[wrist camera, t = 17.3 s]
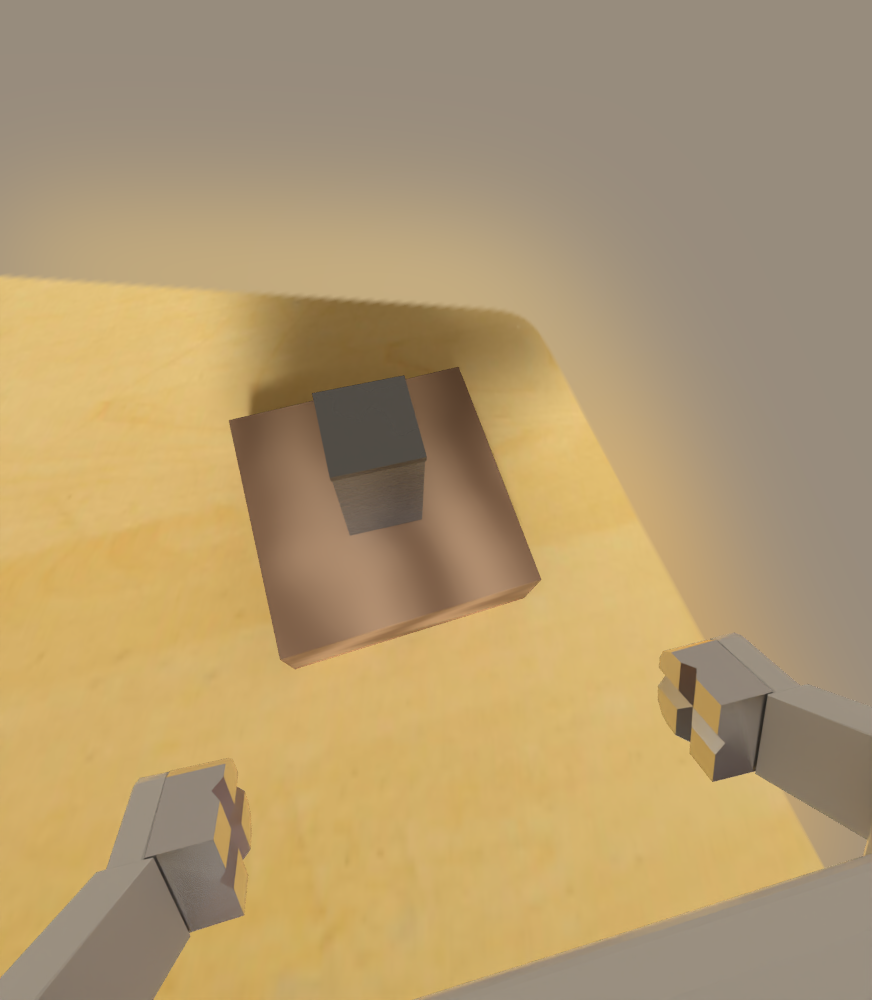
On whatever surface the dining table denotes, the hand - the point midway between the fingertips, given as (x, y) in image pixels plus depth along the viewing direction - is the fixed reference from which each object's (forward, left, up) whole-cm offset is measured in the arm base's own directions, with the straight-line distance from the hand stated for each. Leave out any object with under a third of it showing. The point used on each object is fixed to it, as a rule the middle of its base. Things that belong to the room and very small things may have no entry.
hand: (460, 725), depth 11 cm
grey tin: (0, +12, -18) cm, 22 cm away
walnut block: (0, +12, -23) cm, 26 cm away
